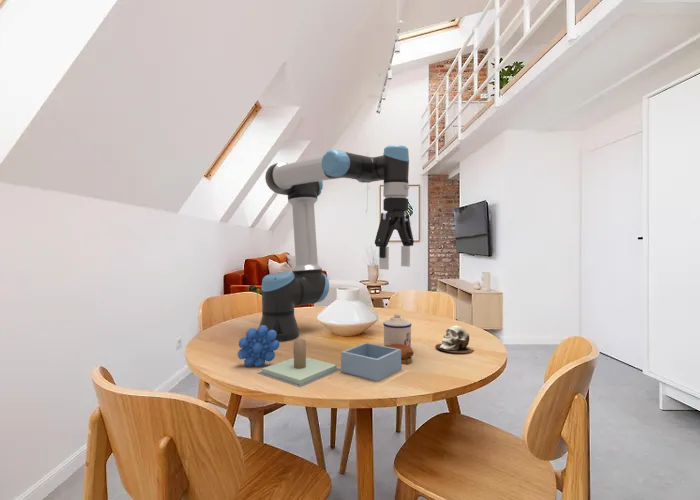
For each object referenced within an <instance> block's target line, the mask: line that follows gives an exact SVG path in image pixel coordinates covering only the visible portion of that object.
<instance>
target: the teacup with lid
mask: <svg viewBox="0 0 700 500" xmlns="http://www.w3.org/2000/svg"><path fill="white" fill-rule="evenodd" d="M382 325H383V346H385V345H388V344H404V345H407V346H409V347H410V348H411V347H412V346H411V345H412V344H411V343H412V341H411V340H412V339H411V337H412V335H411V333H412V332H411V329H412V322H411V321H410V320H408V319H406V318H404V317H402V316H401V314H400V313H394V314H393V316H392V317H391V318H389V319H386V320H384V321H383V324H382ZM411 349H412V348H411Z"/></svg>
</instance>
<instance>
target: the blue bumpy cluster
mask: <svg viewBox="0 0 700 500" xmlns="http://www.w3.org/2000/svg"><path fill="white" fill-rule="evenodd" d="M259 326H260V325H259ZM259 326H258V328H257V329H256V328H255V327H251V328H248V330H247V331H246V333H245V336H246V337H244V336H243V337H242V338H240V339H239V341H238V347H239V348H240V349H239V350H238V352H237V358H239V359H240V360H243V365H244V366H245V367H253V366H254V367H256V368H260V367H264V366H265V364H266V362H272V361H273V360H274V359H275V358H276V353H275V351H277V350H278V349H279V348H280V341H278V340H274V339H275V338H276V336H277V333H276V331H275V330H270V331H268V328H267V327H266V326H265V325H261V326H260V327H259Z"/></svg>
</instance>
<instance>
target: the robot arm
mask: <svg viewBox="0 0 700 500" xmlns="http://www.w3.org/2000/svg"><path fill="white" fill-rule="evenodd" d="M382 154H383V155H379V156H374V157H373V156H367V155H362V154H358V153H357V154H356V153H352V152H347V151H343V150H341V149H339V150H338V149H337V150H336V149H329V150H327V151H326V153H324V154H323V155H322V156H318V157H314V158H309V159H304V160H298V161H295V162H290V163H288V162H285V161H282V162H277V163H274V164H272V165H270V166H269V167H268V168H267V169H266V172H265V175H264V176H265V179H264V181H265V183H266V185H267V187H268V188H269V189H270V190H271V191H272V192H274V193H276V194H279V195H283V196H287V202H288V203H289V204H290V205H291V208H292V210H291V211H292V224H293V225H292V226H293V239H294V240H293V241H294V254H295V255H294V257H295V258H294V260H295V267H294V268H293V269H292V271H282V272H273V273H270V274H269V273H268V274H267V275H265V276H264V277H263V278H262V280H261V281H262V282H261V319H260V323H259V326H258V328H259V327H260V326H261V325H265V326H266V327H267V328H268V331H270V330H275V331H276V333H277V336H276V338H275V339H274V340H278V341H279V342H286V341H292V340H296V339H297V338H299V337H300V329H299V327H298V323H297V318H296V317H295V307H296V306H297V307H298V306H302V305H303V306H305V305H313V304H316V303H321V302H322V301H324V300H325V299H326V297H327V296H328V294H329V292H330V281H329V278H328V276H327V275H326V273H324V272H323V268H322V267H321V266H320V265H319V263H318V246H317V232H316V217H315V204H316V203H317V202H318V197H319V196H320V195H321V194H322V190H323V185H324V184H323V181H328V180H335V179H351V180H355V181H358V183H362V184H363V183H373V182H379V181H380V182H381V181H383V191H382V192H383V195H382V196H383V197H384V199H383V200H382V201H383V203H382V204H383V208H382V209H383V211H385V212H381V213H380V220H379V224H378V229H377V232H376V236H375V240H374V244H375V247H378V250H379V253H378V254H379V255H378V257H379V258H378V259H379V260H378V261H379V262H378V265H379V267H378V268H379V270H389V266H390V263H389V261H390V260H389V259H390V257H389V256H390V255H389V254H390V250H389V249H390V247H389V246H388V244H389V242H390V240H391V238H392V235H393V233H394V231H395V230H396V231H397V233H398V236H399V238H400V240H401V243H402V245H401V246H400V247H401V249H400V251H401V252H400V253H401V254H400V255H401V257H400V259H401V261H400V266H401V267H407V268H408V267H410V266H411V247H413V246H414V242H415V240H414V237H413V231H412V226H411V221H410V220H411V219H410V214H405V212H407V211H408V210H409V199H408V197H409V190H410V186H409V171H410V157H409V148H408V146H405V145H403V144H392V145H391V144H390V145H387V146H385V147H384V149H383V153H382Z"/></svg>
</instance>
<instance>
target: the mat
mask: <svg viewBox="0 0 700 500" xmlns="http://www.w3.org/2000/svg"><path fill="white" fill-rule="evenodd" d="M339 371H341V368H338V367H337V370H334V371H332V372H330V373H327V374H325V375H323V376H320V377H318V378H315V379H313V380H311V381H308V382H306V383H304V384H301V385H298V384H295V383H292V382H289V381H286V380H283V379H280V378H277V377H273V376H270V375H267V374H264V373H262V371H259V372H256V374H258V375H260V376H263V377H267V378H270V379H272V380H275V381H279V382H282V383H286V384H288V385H292V386H295V387H297V388H302V387H304V386H307V385H309V384H312V383H314V382H316V381H318V380H321V379H323V378H325V377H327V376H330V375H333V374H335V373H337V372H339Z"/></svg>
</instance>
